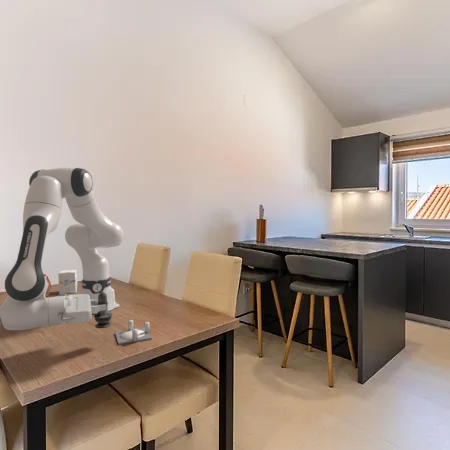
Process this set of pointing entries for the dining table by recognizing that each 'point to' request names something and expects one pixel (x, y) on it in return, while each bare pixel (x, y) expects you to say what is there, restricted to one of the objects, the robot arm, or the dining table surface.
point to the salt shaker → (103, 313)
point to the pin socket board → (123, 341)
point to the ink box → (67, 281)
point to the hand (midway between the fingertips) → (105, 304)
